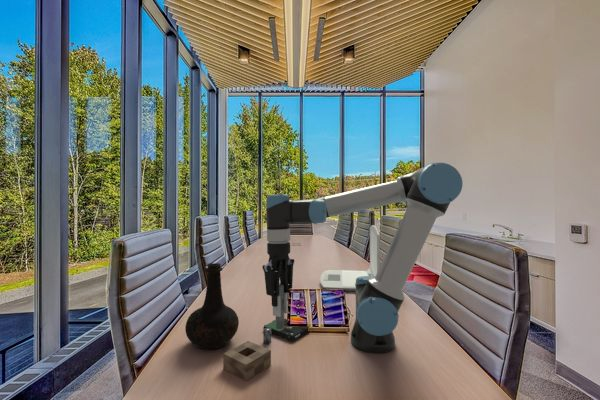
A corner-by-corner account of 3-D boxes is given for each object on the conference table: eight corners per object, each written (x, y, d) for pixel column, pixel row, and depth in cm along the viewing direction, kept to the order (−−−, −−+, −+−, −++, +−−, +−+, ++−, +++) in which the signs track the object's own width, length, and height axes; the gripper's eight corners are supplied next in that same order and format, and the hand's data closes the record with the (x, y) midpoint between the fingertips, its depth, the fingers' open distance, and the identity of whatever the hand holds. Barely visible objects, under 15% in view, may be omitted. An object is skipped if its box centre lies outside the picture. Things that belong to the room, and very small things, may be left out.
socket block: (270, 364, 90) (270, 350, 90) (246, 380, 82) (246, 364, 82) (248, 354, 96) (248, 340, 96) (223, 368, 88) (223, 353, 88)
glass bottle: (179, 340, 106) (179, 262, 106) (226, 327, 117) (226, 256, 117) (194, 362, 92) (194, 272, 92) (247, 345, 103) (246, 264, 103)
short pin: (272, 341, 105) (272, 329, 105) (267, 344, 103) (267, 331, 103) (267, 339, 107) (267, 326, 107) (261, 342, 105) (261, 329, 105)
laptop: (322, 273, 204) (322, 223, 204) (371, 274, 199) (371, 223, 199) (318, 292, 163) (318, 229, 163) (379, 294, 158) (379, 229, 158)
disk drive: (309, 333, 113) (280, 323, 122) (309, 326, 113) (280, 316, 122) (292, 344, 105) (262, 332, 114) (292, 336, 105) (262, 325, 114)
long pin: (286, 326, 97) (285, 284, 97) (280, 330, 94) (279, 286, 94) (279, 324, 98) (278, 282, 98) (274, 327, 96) (273, 284, 96)
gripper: (285, 238, 105) (287, 304, 105) (252, 244, 92) (254, 319, 92) (302, 239, 100) (304, 308, 100) (270, 245, 88) (272, 325, 88)
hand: (280, 313), depth 96 cm, fingers closed on long pin, 3 cm apart
